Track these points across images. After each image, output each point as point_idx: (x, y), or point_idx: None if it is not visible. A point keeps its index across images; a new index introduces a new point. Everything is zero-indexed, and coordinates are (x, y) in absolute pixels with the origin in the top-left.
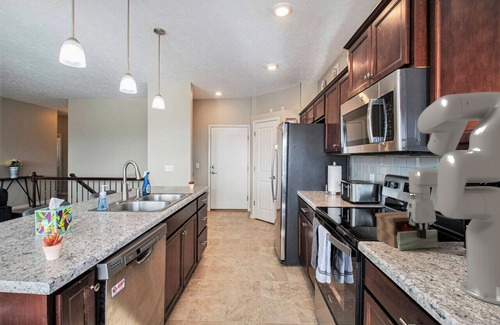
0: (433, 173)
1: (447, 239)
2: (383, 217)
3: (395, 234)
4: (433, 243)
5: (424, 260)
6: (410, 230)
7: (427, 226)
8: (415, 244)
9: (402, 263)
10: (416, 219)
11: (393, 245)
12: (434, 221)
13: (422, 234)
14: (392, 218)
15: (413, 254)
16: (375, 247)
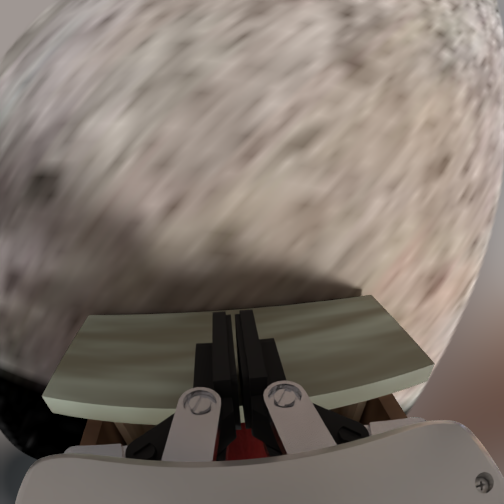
0: None
1: (5, 386)
2: None
3: (380, 398)
4: (107, 330)
5: (356, 120)
6: (235, 449)
7: (174, 422)
8: (262, 324)
9: (470, 129)
10: (481, 455)
11: None
12: (52, 458)
13: (258, 340)
14: None
15: (342, 225)
16: (426, 340)
